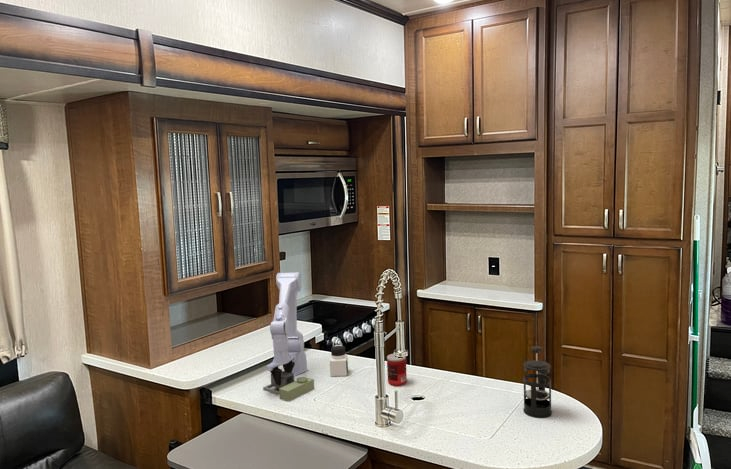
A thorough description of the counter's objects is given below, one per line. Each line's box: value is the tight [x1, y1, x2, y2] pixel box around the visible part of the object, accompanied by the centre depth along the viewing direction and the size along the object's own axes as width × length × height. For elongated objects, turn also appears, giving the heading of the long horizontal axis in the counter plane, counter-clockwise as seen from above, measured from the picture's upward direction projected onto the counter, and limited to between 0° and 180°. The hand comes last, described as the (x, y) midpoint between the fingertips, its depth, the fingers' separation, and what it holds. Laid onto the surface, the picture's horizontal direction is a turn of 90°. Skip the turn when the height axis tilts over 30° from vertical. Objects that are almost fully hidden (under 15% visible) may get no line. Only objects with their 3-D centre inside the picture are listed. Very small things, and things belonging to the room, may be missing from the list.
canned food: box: [386, 353, 408, 387], centre depth 212 cm, size 8×8×11 cm
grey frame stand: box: [262, 376, 315, 402], centre depth 209 cm, size 14×17×5 cm
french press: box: [522, 345, 553, 419], centre depth 180 cm, size 12×9×23 cm
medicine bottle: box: [329, 344, 349, 378], centre depth 225 cm, size 7×7×12 cm
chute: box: [270, 370, 295, 389], centre depth 211 cm, size 8×5×5 cm, turn 55°
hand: (283, 382), depth 211 cm, fingers closed on chute, 5 cm apart
